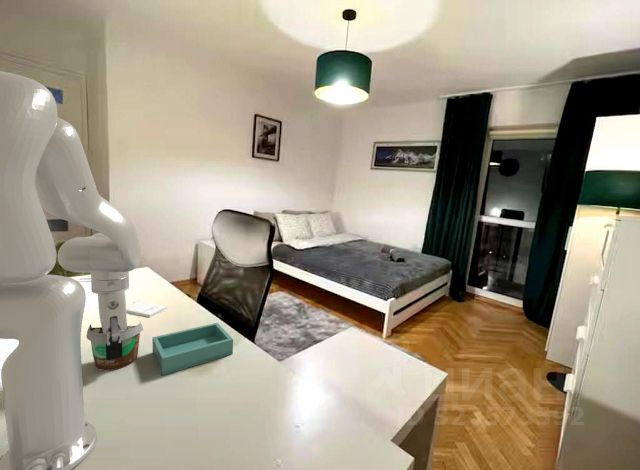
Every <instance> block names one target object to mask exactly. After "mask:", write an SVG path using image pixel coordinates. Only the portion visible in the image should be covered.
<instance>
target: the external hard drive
mask: <svg viewBox="0 0 640 470" xmlns="http://www.w3.org/2000/svg"><path fill="white" fill-rule="evenodd" d="M165 309H166V310H168V306H166V305H160V304H155V303H150V302H145V301H141V300H138V301H136V302H133V303H131V304H128V305H126V314H130V315H135V316H141V317H145V318H151V317H154V316H156V315H157V314H159V313H161V312H164V311H166V310H165Z"/></svg>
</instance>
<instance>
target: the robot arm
mask: <svg viewBox="0 0 640 470" xmlns="http://www.w3.org/2000/svg"><path fill="white" fill-rule="evenodd" d="M53 95H54V94H53V93H52V92H51V91H50V90H49V88H47V87H46V86H45V85H44V84H42V83H40V82H39V81H37V80H35V79H33V78H30V77H26V76H24V75H21V74H20V75H19V74H17V73H12V72H8V71H3V70H0V339H1V340H2V339H3V340H7V339H8V340H12V339H13V340H16V341H18V345H17V346H16V348H15V349H13V350H12V352H11V353H10V354H9V355H8V357H6V358H5V361H4V362H3V364H2V366H1V374H0V377H1V378H0V379H1V385H2V395H3V404H4V414H5V415H4V416H5V425H6V426H5V428H6V435H7V444H8V446H7V447H8V450H7V451H6V452H5V453H4V454H3V456H2V457H1V458H0V470H73V469H74V468H75V467H77V466H78V465H79V464H80V463H81V462H83V460H84V459H86V457H87V456H88V455H89V453H91V451H92V450H93V449H94V446H95V444H96V440H97V430H96V427H95V426H94V425H93V424H92V423H90V422H88V421H85V420H86V419H85V406H84V404H85V403H84V402H85V401H84V383H83V368H82V367H83V366H82V365H83V364H82V347H81V344H82V343H81V341H82V340H81V339H82V327H83V326H82V325H83V320H84V312H85V307H86V296H87V295H86V290H85V289H84V286H83V285H82V284H81V283H80V282H79V281H77V280H76V279H74V278H71V277H69V276H64V275H57V274H49V273H50V272H51V271H53V269H54V267H55V265H56V263H57V262H58V264H59V265H60V267H61V268H62V269H64V270H65V271H68V272H72V273H84V274H85V273H90V279H91V280H90V281H91V282H90V283H91V287H90V288H91V293H93V294H96V295H97V299H98V300H97V301H98V314H99V321H100V324H101V327H102V330H103V333H104V334H106V335H107V344H106V360H112V359H116V358H120V357H122V341H121V332H120V331H121V330H126V329H127V326H128V319H127V318H128V317H127V313H126V306H127V304H126V303H127V302H126V291H127V290H128V289H129V288H130V279H129V278H130V273H129V272H131V271H133V270H134V271H135V269H136V268H137V267H138V266H139V265H140V262H141V257H142V255H141V254H142V251H141V245H140V241H139V238H138V234H137V231H136V228H135V225H134V224H133V222H132V221H131V219H130V218H129V217H128V216H127V215H126V214H125V213H123V212H122V211H121V209H119V208H118V207H117V206H116V205H114V204H112V203H111V201H108V200H107V199H105V198H104V197H102V196H101V195H100V193H99V192H98V189H97V184H96V182H95V179H94V176H93V173H92V170H91V167H90V164H89V162H88V159H87V155H86V153H85V149H84V147H83V144H82V141H81V138H80V135H79V133H78V132H77V130H76V128H75V127H74V126H73V125H72V124H71V123H70V122H69V121H67V120H64V119H63V118H60V117H58V116H59V115H58V107H57V106H58V105H57V102H56V98H55V97H54V96H53ZM44 210H45V211H46V212H47V213H48V214H50V215H52V216H54V217H56V218H59V219H61V220H64V221H66V222H70V223H72V224H74V225H77V226H80V227H85V228H88V229H89V230H93V231H96V233H94V234H92V235H91V236H90V235H89V236H77V237H73V238H71V239H68V240H66V241H65V242H64V243H63V244H61V246H60V248H58V249H59V250H58V252H57V248H56V244H55V241H54V237H53V235H52V231H51V230H50V226H49V224H48V221H47V218H46V215H45V212H44ZM120 328H121V330H120ZM108 329H111V331H109V332H108ZM109 334H112V335H111V336H112V337H110V336H109Z"/></svg>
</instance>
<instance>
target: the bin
mask: <svg viewBox="0 0 640 470" xmlns="http://www.w3.org/2000/svg"><path fill="white" fill-rule="evenodd" d="M233 351H234V339H233V338H232V336H230V334H228V332H227V331H226V329H224V328H223V327H222V326H221V324H220V323H218V322H215V323H211V324H210V323H209V324H205V325H202V326H201V325H200V326H196V327H193V328H188V329H184V330H183V329H182V330H179V331H175V332H171V333H170V332H169V333H166V334H162V335H157V336H156V335H155V336H153V337H152V354H153V357H154V359H155V361H156V364H157V366H158V368H159V371H160V373H161V375H162V376H164V375H169V374H171V373H175V372H178V371H181V370H186V369H188V368H191V367H195V366H198V365H201V364H204V363H208V362H212V361H214V360H218V359H221V358H225V357H228V356H231V355H234V354H233V353H234V352H233Z"/></svg>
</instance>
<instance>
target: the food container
mask: <svg viewBox="0 0 640 470" xmlns="http://www.w3.org/2000/svg"><path fill="white" fill-rule="evenodd" d="M120 330H121V328H120ZM143 330H144V326H143V324H142V322H139V323H138V324H137V325H127V329H126V330H121V331H120V332H121V341H122V357H120V358H116V359H112V360H106V344H107V335H106V334H104V333H103V330H102V326H101V327H92V324H90V325H89V326H88V328H87V332H86V336H85V337H86V339H87V340H89V341H90V344H91V345H90V346H91V351H92V357H93V362H94V367H95V368H96V369H98V370H101V371H114V370H119V369H122V368H125V367H128V366H130V365H131V364H133V363H134V362H135V361H136V360H137V359H138V356H139V355H138V353H139V346H140V337H141V333H142V332H143ZM109 331H111V329H108V332H109ZM111 335H112V334H109V336H110V337H112V336H111Z"/></svg>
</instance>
